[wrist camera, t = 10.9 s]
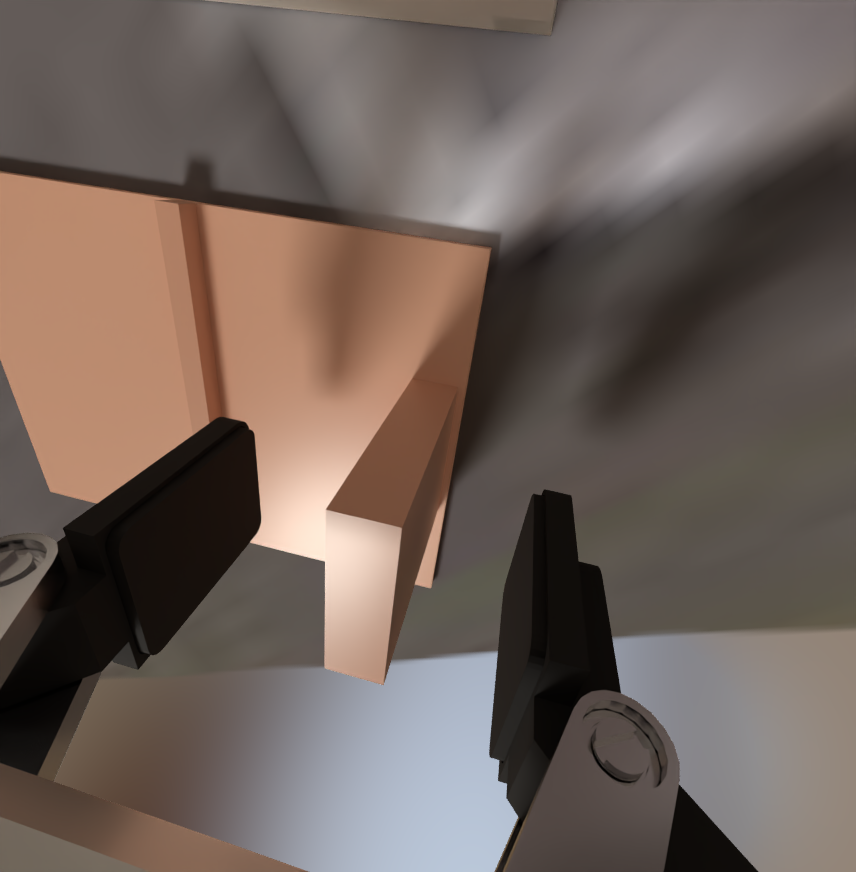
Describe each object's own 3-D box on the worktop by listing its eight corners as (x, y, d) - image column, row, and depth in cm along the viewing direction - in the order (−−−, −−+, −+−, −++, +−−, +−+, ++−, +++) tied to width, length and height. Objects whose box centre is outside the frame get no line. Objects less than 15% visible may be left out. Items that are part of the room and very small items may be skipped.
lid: (-41, 162, 12) (-499, 142, 7) (493, 245, 10) (446, 306, 5) (69, 479, 18) (-140, 610, 12) (435, 570, 16) (382, 771, 10)
